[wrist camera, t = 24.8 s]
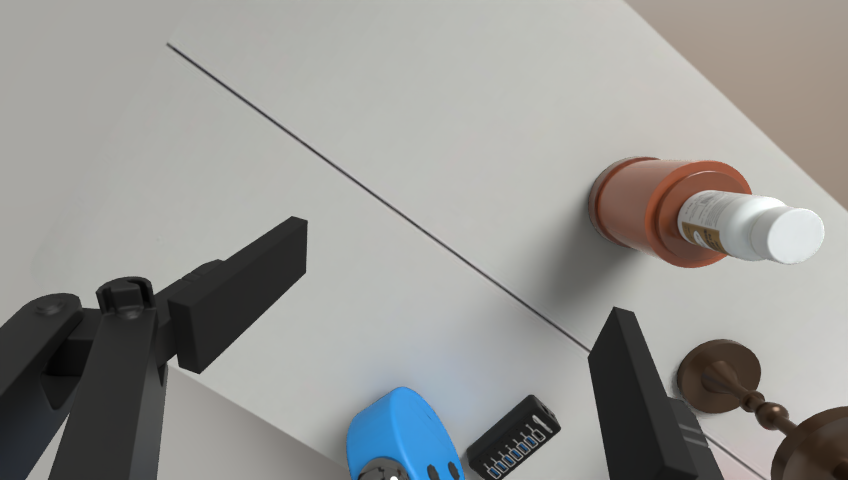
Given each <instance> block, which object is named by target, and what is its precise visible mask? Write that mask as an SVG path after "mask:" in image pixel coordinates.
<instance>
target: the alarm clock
mask: <svg viewBox="0 0 848 480" xmlns="http://www.w3.org/2000/svg"><path fill="white" fill-rule="evenodd" d="M346 449H347V460H348V466H349V471H350V475H351V479H352V480H465V477H464V473H463V470H462V466H461V463H460V460H459V458H458V455H457V452H456V450H455V448H454V445H453V443H452V441H451V439H450V437H449V435H448V433H447V431H446V429H445V428H444V426H443V424H442V423H441V421H440V419H439V418H438V416H437V415H436V414H435V412H434V411H433V409H432V408H431V407H430V406H429V405H428V403H427V402H426V401H425V400H424V399H423V398H422V397H421V396H420V395H418V394H417V393H416V392H414V391H413V390H411V389H409V388H406V387H399V388H396V389H394V390H393V391H391V392H390V393H388V394H387V395H385V396H384V397H382V398H381V399H379V400H378V401H376V402H375V403H373V404H372V405H370V406H369V407H367V408H366V409H364V410H363V411H361V412H360V413H358V414H357V415H356V416H355V417H354V418H353V420H352V422H351V424H350V426H349V429H348V433H347V442H346Z"/></svg>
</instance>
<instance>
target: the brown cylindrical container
mask: <svg viewBox="0 0 848 480" xmlns="http://www.w3.org/2000/svg"><path fill="white" fill-rule="evenodd" d="M707 190H715V191H723V192H732V193H740V194H749V195H752V192H751V189H750V187H749V185H748V183H747V181H746V180H745V178H744V177H743V176H742V175H741V174H740V173H739V172H738V171H737V170H736V169H734V168H733V167H731V166H729V165H727V164H725V163H722V162H718V161H711V160H661V159H658V158H653V157H630V158H625V159H622V160H619V161H617V162H615V163H613V164H612V165H610V166H609V167H608V168H607V169H605V170H604V171H603V172H602V173H601V174H600V176H599V177H598V178H597V180H596V181H595V183H594V185H593V187H592V189H591V192H590V196H589V202H588V210H589V216H590V219H591V222H592V224H593V226H594V228H595V229H596V230H597V232H598V233H599V234H600V235H601V236H602V237H604V238H605V239H607V240H609V241H611V242H613V243H615V244H617V245H620V246H623V247H628V248H634V249H637V250H639V251H641V252H644V253H646V254H648V255H651V256H653V257H655V258H658V259H660V260H663V261H665V262H667V263H670V264H672V265H675V266H678V267H684V268H697V267H703V266H707V265H710V264H713V263H715V262H717V261H719V260H721V259H722V258H724V257H726V256H727V255H726V254H723V253H720V252H717V251H714V250H711V249H708V248H704V247H701V246H698V245H695V244H692V243H690V242H688V241H687V240H686V239H684V238H683V236H682V235H681V233H680V231H679V228H678V215H679V212H680V209H681V207H682V206H683V204H684V203H685V202H686V201H687V200H688V199H689V198H690V197H691V196H693V195H695V194H696V193H699V192H702V191H707Z"/></svg>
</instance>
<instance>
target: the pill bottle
mask: <svg viewBox="0 0 848 480" xmlns="http://www.w3.org/2000/svg"><path fill="white" fill-rule="evenodd" d="M678 228H679V231H680V233H681V235H682V236H683V238H684V239H686V240H687V241H688V242H690V243H692V244H695V245H698V246H701V247H704V248H708V249H711V250H714V251H717V252H720V253H723V254H726V255H729V256H732V257H736V258H739V259H742V260H747V261H760V260H765V259H767V260H771V261H775V262H778V263H782V264H797V263H800V262H803V261H805V260H806V259H808V258H809V257H811V256H812V255H813V254H814V253H815V252H816V251H817V250H818V248H819V247H820V245H821V243H822V241H823V237H824V225H823V222H822V220H821V219H820V217H819V216H818V215H817V214H816V213H814V212H812V211H810V210H807V209H803V208H796V207H790V206H786V205H785V204H784V203H782V202H781V201H779V200H777V199H775V198H771V197H766V196H758V195H749V194H740V193H732V192H723V191H715V190H707V191H702V192H699V193H696V194H695V195H693V196H691V197H690V198H689V199H688V200H687V201H686V202H685V203H684V204H683V206H682V207H681V209H680V212H679V215H678Z"/></svg>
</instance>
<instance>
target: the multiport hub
mask: <svg viewBox="0 0 848 480" xmlns="http://www.w3.org/2000/svg"><path fill="white" fill-rule="evenodd" d="M560 430H561V427H560V425H559V423H558V421H557V419H556V417H555V415H554V414H553V413H552V412H551V411H550V410H549V409H548V408H547V407H546V406H545V405H544V404H542V403H541V402H540V401H539V400H538V399H537V398H536V397H535V396H534V395H529V396H528V397H526V398H525V399H524V400H523V401H522V402H521V403H520V404H518V405H517V406H516V407H515V408H514V409H513V410H512V411H510V412H509V413H508V414H507V415H506V416H505V417H503V418H502V419H501V420H500V421H499V422H498V423H497V424H495V425H494V426H493V427H492V428H491V429H490V430H489V431H487V432H486V433H485V434H484V435H483V436H482V437H480V438H479V439H478V440H477V441H476V442H475V443H474V444H472V445H471V446H470V447H469V448H468V449H467V455H468V461H469V466H470V467H471V468H472V469H473V470H474V471H475V472H477V473H478V474H479V475H480V476H481V477H482V478H484V479H485V480H502V479H503V478H504V477H506V476H507V475H508V474H509V473H510V472H512V471H513V470H514V469H515V468H516V467H518V466H519V465H520V464H521V463H522V462H523V461H525V460H526V459H527V458H528V457H529V456H531V455H532V454H533V453H534V452H535V451H537V450H538V449H539V448H540V447H541V446H543V445H544V444H545V443H546V442H547V441H549V440H550V439H551V438H552V437H553V436H554V435H556V434H557V433H558V432H559V431H560Z"/></svg>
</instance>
